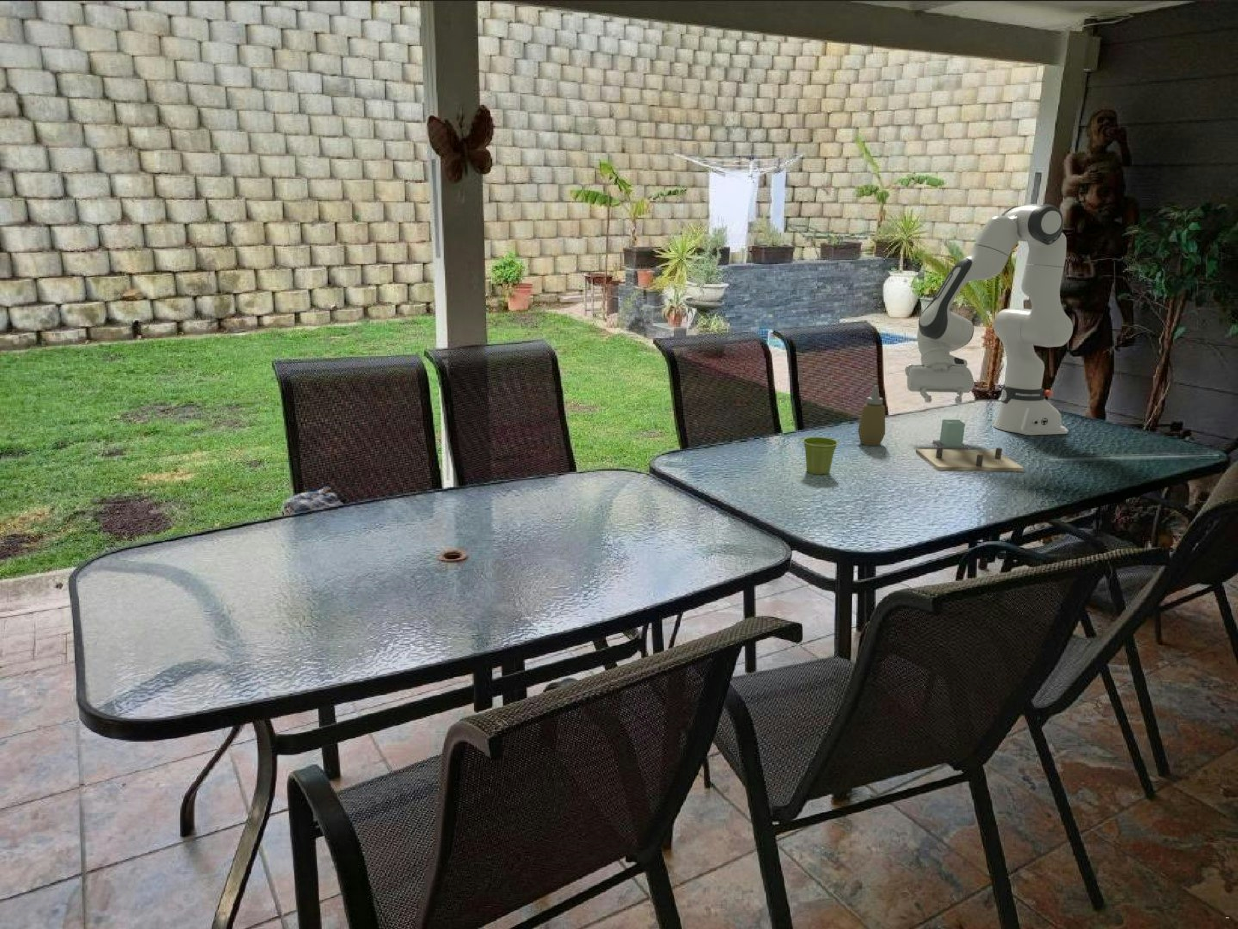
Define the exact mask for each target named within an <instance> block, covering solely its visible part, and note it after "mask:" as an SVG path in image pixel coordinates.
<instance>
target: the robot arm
mask: <svg viewBox="0 0 1238 929" xmlns="http://www.w3.org/2000/svg"><path fill="white" fill-rule="evenodd" d="M1063 227H1064V216H1063V213H1062V211H1061V209H1060V208H1058V207H1057V206H1056V205H1052V204H1046V203H1043V204H1040V203H1029V204H1025V205H1014V206H1012V207H1009V208H1008V209H1006V210H1005V211H1003V213H1001V214H1000V215H994V216H992V217H990V218H989V219H988V220H987V222H986V223H985V225H984V226H983V227H982V229H981V231H980V233H979V234H978V236H977V238H976V239H975V242H974V243H973V246H972V248H971V249H970V251H969V253H968V254H967V255H966V256H965V257H964V258H962V259H960V260H958V261H957V262H956V263H955V265H954V266H952V269H951V270H950V271H949V273H948V274H947V276H946V277H945V279H944V281H943V282H942V284H941V285H940V287H939V288H938V290H937V291H936V293H935V295H934V296H933V298H932V300H931V301H930V302H929V304H928V305H927V306H926V308H924V310H923V311H922V313H921V314H920V315H919V318H918V328H917V336H916V337H917V338H916V341H917V346H918V351H919V353H920V354H921V356H920V363H921V364H909V365H907V366H906V367H905V368H904V371H905V372H904V373H905V375H906V376H907V378H906V383H907V384H906V385H907V387H906V388H907V389H908V390H909V391H910V392H912V393H913V392H918V393H919V394H920V395H921V397H923V399H924V402H925V403H926V404H927V403H928V404H930V403H932V401H933V398H932V395H930V394H928V393H955V394H956V395H957V396H955V398H954V403H955V404H961V403H962V402H963V398H962V397H963V394H969V393H971V391H973V389H974V387H975V380H974V377H973V374H972V371H971V369H970V368H969V367H968V361H967V360H966V359H964V358H960V357H957V356H954V355H952V354H950V353H951V352H955V351H957V350H959V349H961V348H963V347H965V346H966V345H968V344H969V343H970V342H971V341H972V339H973V338H974V334H975V333H974V332H975V327H974V323H973V322H972V321H971V320H969V319H968V318H967V317H964V316H962V315H959V314H957V313H955V312H953V311H951V310H950V309H951V305H952V304H953V302H954V301H955V300H956V298H957V297H958V295H959V293H960V291H961V290H962V288H963V287H964V286H965V285H966V284H967V283H969V282H972V281H987V280H990V279H993V278H995V277H997V276H998V275H1000V274H1001V272H1002V271H1003V270H1004V268H1005V266H1006V264H1007V262H1008V260H1009V258H1010V256H1011V253H1012V250H1013V248H1014V246H1015V245H1016V244H1017V243H1018V242H1027V245H1028V253H1027V257H1026V261H1025V266H1024V271H1023V276H1022V280H1021V290H1022V292H1023V294H1024V295H1026V297H1028V298H1029V300H1030V304H1031V308H1030V309H1029V308H1021V307H1012V308H1004V309H1001V310H1000V311H999V312H998V313H997V314H996V316H995V317H994V319H993V324H992V326H993V327H992V328H993V331H994V334H995V335H996V336H997V337H998V339H999V340H1000V342H1001V343H1002V345H1003V348H1004V351H1005V355H1006V371H1005V380H1004V384H1003V385H1002V389H1001V393H1000V394H1001V395H1000V396H1001V397H1000V406H999V410H998V413H997V416H996V419H995V421H994V422H993V424H992V425H993V427H994V428H996V429H998V430H1001V431H1006V432H1011V433H1016V434H1021V435H1025V436H1040V435H1041V436H1043V435H1065V434H1069V433H1068V432H1069V430H1068V429H1067V427H1065V426H1064V425H1062V414H1061V413H1060V412H1059V410H1058V409H1057V408H1056V407H1054V405H1052V404H1051V403H1050V402H1049V401H1048V400H1047V399H1046V397H1047V398H1051V397H1052V395H1053V391H1052V390H1049V389H1044V388H1043V387H1042V386H1043V379H1044V373H1045V363H1044V361H1043V360H1042V359H1041V358H1040V357H1039V356H1038V355H1037V354H1036V350H1035V347H1034V346H1036V347H1043V348H1044V347H1045V348H1054V347H1056V348H1057V347H1058V348H1059V347H1062V346H1064V345H1066V344H1067V343H1068V342H1069V341H1070V339H1071V337H1072V335H1073V331H1074V324H1073V322H1072V319H1071V318H1070V317H1069V316H1068V315H1067V314H1066V312H1065V310H1064V309H1063V305H1062V303H1061V302H1062V301H1061V296H1060V295H1061V292H1060V291H1061V284H1062V279H1063V273H1064V269H1065V268H1064V267H1065V264H1066V256H1067V237H1066V236H1067V235H1065V234H1064V232H1063V230H1064V228H1063Z"/></svg>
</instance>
